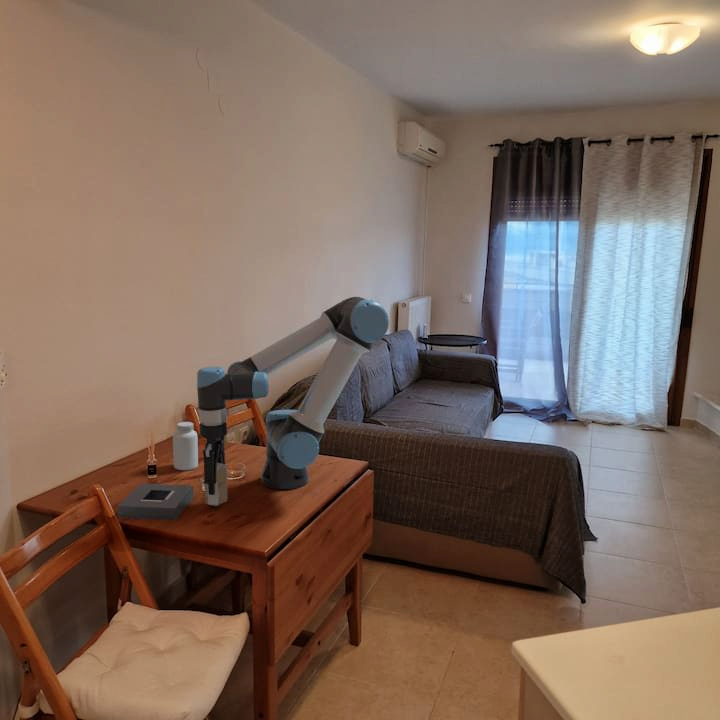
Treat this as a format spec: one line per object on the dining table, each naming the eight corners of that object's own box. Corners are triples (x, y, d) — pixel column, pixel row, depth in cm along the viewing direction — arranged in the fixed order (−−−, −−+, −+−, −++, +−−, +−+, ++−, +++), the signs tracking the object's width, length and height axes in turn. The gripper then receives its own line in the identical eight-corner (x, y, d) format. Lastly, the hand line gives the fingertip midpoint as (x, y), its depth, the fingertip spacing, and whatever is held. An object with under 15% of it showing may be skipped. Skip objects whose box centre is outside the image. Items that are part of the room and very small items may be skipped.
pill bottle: (203, 465, 211) (202, 423, 208) (185, 472, 204) (183, 428, 201) (187, 460, 215) (185, 419, 212) (168, 467, 208) (166, 424, 205)
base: (193, 496, 185) (193, 484, 185) (175, 520, 170) (175, 507, 169) (140, 494, 186) (140, 482, 185) (118, 517, 170) (117, 505, 170)
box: (215, 507, 176) (213, 470, 174) (204, 503, 178) (202, 467, 176) (228, 500, 180) (227, 464, 178) (217, 497, 183) (216, 461, 180)
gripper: (209, 412, 184) (212, 485, 189) (189, 432, 165) (193, 513, 170) (234, 412, 184) (237, 486, 188) (216, 432, 165) (220, 513, 169)
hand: (216, 498), depth 179 cm, fingers closed on box, 6 cm apart
